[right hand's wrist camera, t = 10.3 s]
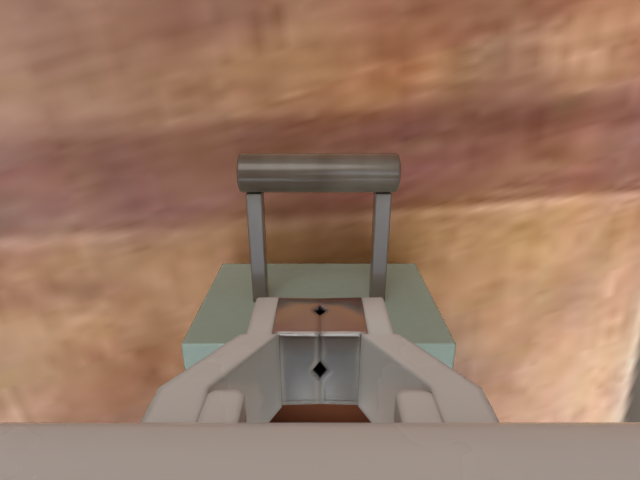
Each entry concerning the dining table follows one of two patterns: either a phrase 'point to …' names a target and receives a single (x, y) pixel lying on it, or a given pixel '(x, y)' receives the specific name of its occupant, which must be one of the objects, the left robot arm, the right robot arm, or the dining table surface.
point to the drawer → (318, 267)
